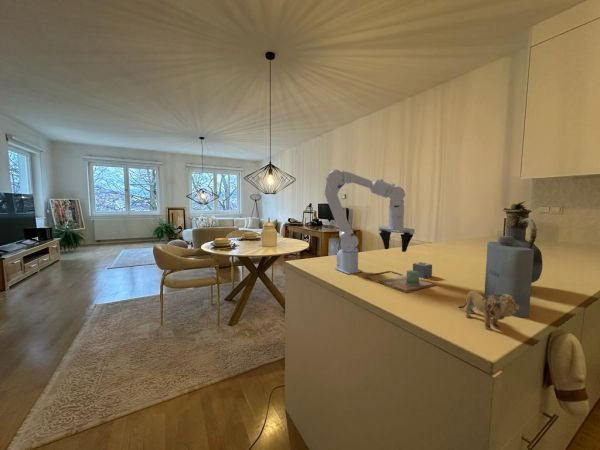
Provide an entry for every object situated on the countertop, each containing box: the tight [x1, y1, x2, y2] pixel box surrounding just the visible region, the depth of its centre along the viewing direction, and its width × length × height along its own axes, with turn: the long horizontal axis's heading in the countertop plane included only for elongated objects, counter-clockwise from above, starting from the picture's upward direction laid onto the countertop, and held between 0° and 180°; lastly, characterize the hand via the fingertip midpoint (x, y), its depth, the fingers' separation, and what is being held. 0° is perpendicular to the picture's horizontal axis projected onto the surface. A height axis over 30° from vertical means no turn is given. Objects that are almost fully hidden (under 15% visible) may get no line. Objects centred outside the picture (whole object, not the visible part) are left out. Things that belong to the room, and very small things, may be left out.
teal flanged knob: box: [405, 270, 420, 287], centre depth 88 cm, size 5×5×4 cm
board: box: [361, 270, 437, 294], centre depth 94 cm, size 21×16×1 cm
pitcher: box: [502, 200, 543, 284], centre depth 83 cm, size 11×19×30 cm, turn 160°
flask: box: [483, 235, 534, 318], centre depth 70 cm, size 15×6×20 cm, turn 169°
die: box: [412, 261, 433, 279], centre depth 100 cm, size 5×5×5 cm
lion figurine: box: [457, 290, 519, 331], centre depth 61 cm, size 15×5×9 cm, turn 11°
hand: (395, 250), depth 100 cm, fingers open, 7 cm apart
